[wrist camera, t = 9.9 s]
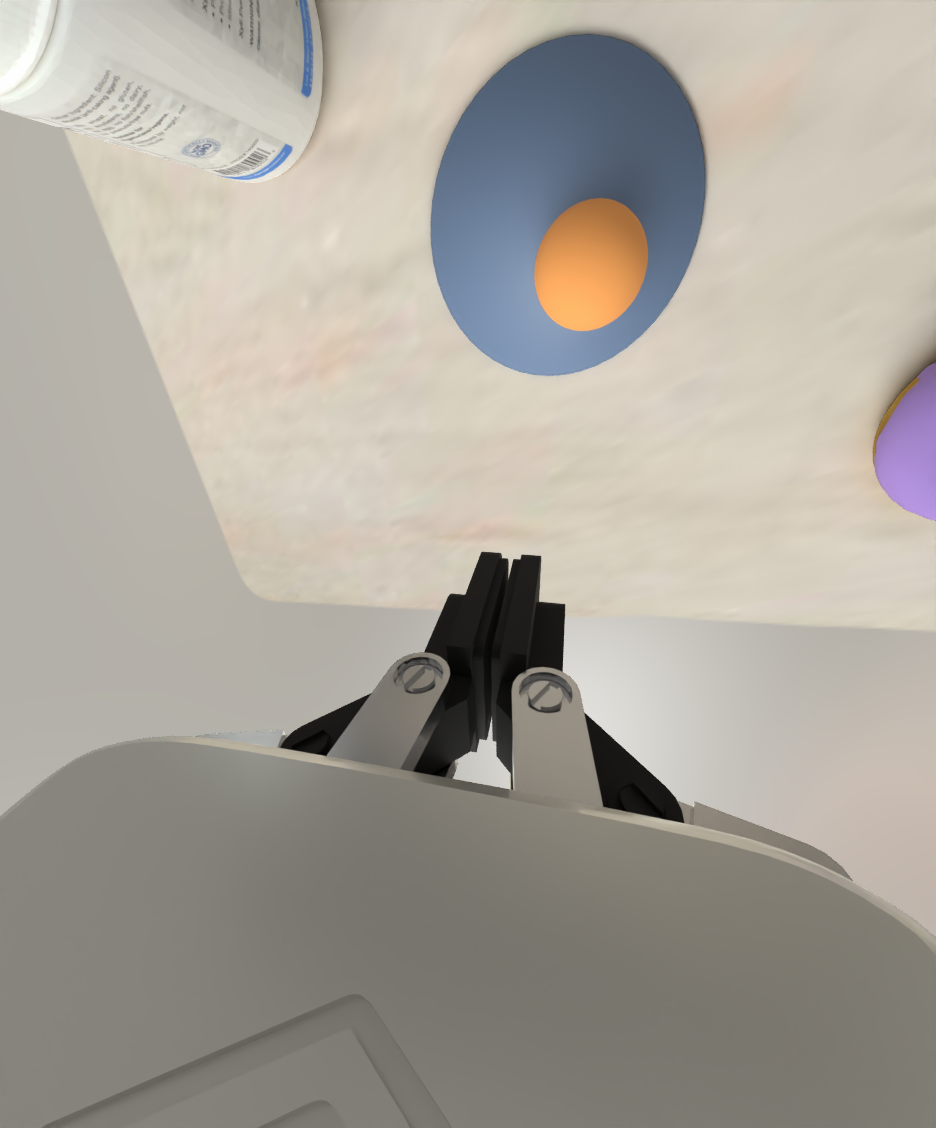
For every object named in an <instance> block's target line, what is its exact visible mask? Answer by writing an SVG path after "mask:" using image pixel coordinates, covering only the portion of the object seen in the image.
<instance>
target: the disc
mask: <svg viewBox="0 0 936 1128" xmlns="http://www.w3.org/2000/svg"><path fill="white" fill-rule="evenodd" d="M596 198H605V199H611V200H615V201H617V202H619V203H621V204H623V205H625V206H626V207H628V208H629V209H630V210H631V211H632V212H633V213H634V214H635V215H636V217H637V218H638V220H639V221H640V223H641V225H642V227H643V229H644V232H645V235H646V239H647V245H648V263H647V270H646V274H645V277H644V281H643V283H642V286H641V288H640V290H639V292H638V294H637V296H636V298H635V299H634V301H633V302H632V303H631V305H630V306H629V307H628V308H627V310H626V311H625V312H624V313H623V314H622V315H620V316H619V317H618V318H617V319H615V320H614V321H613V322H611V323H609V324H608V325H605V326H603V327H601V328H598V329H594V330H589V331H575V330H571V329H567V328H565V327H563V326H561V325H559V324H557V323H556V322H554V321H553V320H552V319H551V318H550V317H549V316H548V315H547V313H546V312H545V310H544V309H543V307H542V305H541V304H540V301H539V299H538V296H537V293H536V288H535V281H534V271H535V261H536V257H537V253H538V249H539V246H540V244H541V242H542V240H543V237H544V235H545V234H546V232H547V231H548V229H549V228H550V226H551V225H552V224H553V222H554V221H555V220H556V219H557V218H558V217H559V216H560V215H561V214H562V213H563V212H565V211H566V210H567V209H568V208H570V207H572V206H574V205H576V204H577V203H579V202H582V201H585V200H589V199H596ZM704 198H705V168H704V157H703V149H702V144H701V140H700V135H699V131H698V127H697V124H696V121H695V119H694V116H693V113H692V111H691V108H690V105H689V104H688V102H687V100H686V98H685V96H684V95H683V93H682V91H681V89H680V87H679V86H678V84H677V83H676V82H675V81H674V79H673V78H672V77H671V76H670V74H669V73H668V72H667V71H666V69H665V68H664V67H663V66H662V65H660V64H659V63H658V62H657V61H656V60H655V59H653V58H652V57H651V56H650V55H649V54H647V53H646V52H644V51H642V50H641V49H639V48H637V47H635V46H634V45H632V44H630V43H627V42H624V41H621V40H618V39H615V38H612V37H608V36H600V35H592V34H586V35H572V36H566V37H562V38H558V39H554V40H550V41H547V42H545V43H543V44H540V45H538V46H536V47H534V48H532V49H529V50H527V51H526V52H524V53H523V54H521V55H520V56H518V57H517V58H515V59H514V60H512V61H511V62H509V63H508V64H507V65H505V66H504V67H503V68H502V69H501V70H500V71H499V72H497V73H496V74H495V75H494V76H493V77H492V78H491V79H490V80H489V81H488V82H487V83H486V84H485V86H484V87H483V88H482V89H481V90H480V91H479V92H478V94H477V95H476V96H475V97H474V99H473V100H472V102H471V103H470V105H469V106H468V108H467V109H466V111H465V112H464V113H463V115H462V117H461V119H460V120H459V122H458V124H457V126H456V128H455V130H454V132H453V134H452V136H451V138H450V140H449V143H448V145H447V148H446V150H445V153H444V155H443V158H442V161H441V165H440V168H439V172H438V175H437V179H436V184H435V190H434V195H433V201H432V213H431V246H432V254H433V263H434V267H435V271H436V276H437V280H438V283H439V286H440V289H441V292H442V295H443V298H444V300H445V302H446V304H447V306H448V309H449V311H450V313H451V315H452V316H453V318H454V319H455V321H456V323H457V324H458V326H459V327H460V329H461V330H462V331H463V332H464V334H465V335H466V336H467V337H468V339H469V340H470V341H471V342H472V343H473V344H474V345H475V346H476V347H477V348H478V349H480V350H481V351H482V352H483V353H485V354H486V355H487V356H489V357H490V358H491V359H493V360H494V361H496V362H498V363H500V364H502V365H504V366H506V367H508V368H511V369H514V370H517V371H519V372H523V373H528V374H533V375H546V376H553V375H565V374H570V373H575V372H579V371H583V370H585V369H588V368H591V367H594V366H596V365H598V364H600V363H602V362H604V361H606V360H608V359H610V358H612V357H613V356H615V355H616V354H618V353H619V352H621V351H622V350H624V349H625V348H627V347H628V346H629V345H630V344H632V343H633V342H634V341H635V340H636V339H637V338H639V337H640V336H641V335H642V334H643V333H644V332H645V331H646V330H647V329H648V328H649V327H650V325H651V324H652V323H653V322H654V321H655V320H656V319H657V317H658V316H659V315H660V313H661V312H662V311H663V309H664V308H665V307H666V306H667V304H668V302H669V301H670V299H671V298H672V296H673V294H674V293H675V291H676V289H677V288H678V286H679V284H680V282H681V280H682V278H683V276H684V274H685V271H686V269H687V267H688V265H689V262H690V259H691V256H692V254H693V251H694V248H695V245H696V242H697V237H698V233H699V229H700V225H701V221H702V213H703V206H704Z"/></svg>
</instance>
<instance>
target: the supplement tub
mask: <svg viewBox="0 0 936 1128" xmlns="http://www.w3.org/2000/svg"><path fill="white" fill-rule="evenodd" d="M322 83H323V51H322V38H321V31H320V25H319V19H318V14H317V9H316V5H315V1H314V0H0V110H3V111H6V112H9V113H12V114H15V115H19V116H22V117H25V118H29V119H33V120H36V121H39V122H42V123H46V124H49V125H52V126H56V127H59V128H62V129H66V130H69V131H72V132H76V133H79V134H82V135H85V136H89V137H92V138H95V139H99V140H102V141H105V142H108V143H112V144H115V145H118V146H122V147H125V148H129V149H132V150H135V151H139V152H142V153H145V154H148V155H152V156H155V157H159V158H162V159H166V160H169V161H172V162H175V163H179V164H182V165H185V166H189V167H192V168H195V169H199V170H202V171H205V172H209V173H212V174H215V175H219V176H222V177H226V178H229V179H232V180H236V181H241V182H247V183H258V182H264V181H267V180H270V179H273V178H275V177H277V176H279V175H281V174H282V173H284V172H285V171H287V170H288V169H289V168H290V167H291V166H292V165H293V164H294V163H295V162H296V161H297V160H298V159H299V157H300V156H301V155H302V153H303V152H304V150H305V148H306V146H307V145H308V143H309V141H310V139H311V136H312V134H313V131H314V128H315V125H316V122H317V118H318V115H319V110H320V103H321V96H322Z"/></svg>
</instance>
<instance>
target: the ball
mask: <svg viewBox="0 0 936 1128" xmlns="http://www.w3.org/2000/svg"><path fill="white" fill-rule="evenodd" d="M647 263H648V245H647V239H646V235H645V232H644V229H643V227H642V225H641V223H640V221H639V220H638V218H637V217H636V215H635V214H634V213H633V212H632V211H631V210H630V209H629V208H628V207H626V206H625V205H623V204H621V203H619V202H617V201H615V200H611V199H605V198H596V199H589V200H585V201H582V202H579V203H577V204H576V205H574V206H572V207H570V208H568V209H567V210H566V211H565V212H563V213H562V214H561V215H560V216H559V217H558V218H557V219H556V220H555V221H554V222H553V224H552V225H551V226H550V228H549V229H548V231H547V232H546V234H545V235H544V237H543V240H542V242H541V244H540V246H539V249H538V253H537V257H536V261H535V271H534V281H535V288H536V293H537V296H538V299H539V301H540V304H541V305H542V307H543V309H544V310H545V312H546V313H547V315H548V316H549V317H550V318H551V319H552V320H553V321H554V322H556V323H557V324H559V325H561V326H563V327H565V328H567V329H571V330H575V331H589V330H594V329H598V328H601V327H603V326H605V325H608V324H609V323H611V322H613V321H614V320H615V319H617V318H618V317H619V316H620V315H622V314H623V313H624V312H625V311H626V310H627V308H628V307H629V306H630V305H631V303H632V302H633V301H634V299H635V298H636V296H637V294H638V292H639V290H640V288H641V286H642V283H643V281H644V277H645V274H646V270H647Z"/></svg>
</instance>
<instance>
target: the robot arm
mask: <svg viewBox="0 0 936 1128" xmlns="http://www.w3.org/2000/svg"><path fill="white" fill-rule="evenodd" d="M540 572H541V556H534V555H521V559H520V560H519V559H514V560H513V564H512V568H511V572H510V576H509V580H508V559H505V558H502V555H501V553H492V552H481V555H480V557H479V560H478V563H477V565H476V568H475V570H474V573H473V576H472V578H471V581H470V584H469V586H468V589H467V592H466V594H465V595H461V594H450V595H449V596H448V598H447V601H446V603H445V605H444V608H443V610H442V612H441V615H440V617H439V619H438V621H437V624H436V626H435V628H434V631H433V633H432V636H431V638H430V640H429V642H428V645H427V647H426V649H425V652H420V653H413V654H410V655H407V656H404V657H402V658H401V659H399V660H397V661H396V662H395V663H394V664H393V665H392V666H391V667H390V669H389V670H388V672H387V673H386V674H385V676H384V677H383V678H382V680H381V681H380V682H379V684H378V685H377V687H376V688H375V689H374V691H373V692H372V693H371V694H369V695H367V696H364V697H362V698H360V699H358V700H356V701H354V702H352V703H350V704H348V705H345V706H343V707H341V708H339V709H337V710H335V711H333V712H331V713H328V714H326V715H325V716H322V717H320V718H318V719H316V720H314V721H312V722H309V723H307V724H305V725H303V726H301V727H300V728H298V729H297V730H295V731H293V732H292V733H291V734H290V735H286V734H285V732H284V730H276V731H257V732H238V733H218V734H205V735H199V736H195V737H192V736H166V737H152V738H143V739H137V740H133V741H126V742H121V743H117V744H113V745H109V746H106V747H103V748H100V749H97V750H94V751H91V752H89V753H87V754H84V755H82V756H80V757H78V758H76V759H75V760H73V761H71V762H70V763H68V764H67V765H65V766H63V767H62V768H60V769H59V770H57V771H56V772H55V773H53V774H52V775H50V776H49V777H48V778H46V779H45V780H44V781H43V782H41V783H40V784H39V785H37V786H36V787H35V788H34V789H33V790H31V791H30V792H29V793H28V794H26V795H25V796H24V797H23V798H21V799H20V800H19V801H18V802H17V803H15V804H14V805H13V806H12V807H10V808H9V809H8V810H7V811H6V812H5V813H4V814H2V815H1V816H0V1128H936V937H935V936H934V935H933V934H931V933H930V932H929V931H928V930H927V929H925V928H924V927H923V926H922V925H921V924H919V923H918V922H917V921H916V920H914V919H913V918H912V917H910V916H909V915H907V914H906V913H904V912H903V911H901V910H900V909H898V908H897V907H896V906H894V905H893V904H891V903H889V902H888V901H886V900H885V899H883V898H881V897H880V896H878V895H876V894H875V893H873V892H872V891H870V890H868V889H866V888H865V887H863V886H861V885H859V884H857V883H855V882H854V881H853V880H852V879H851V878H850V876H849V875H848V874H847V872H846V871H845V870H844V869H843V867H841V866H840V865H839V864H838V863H837V862H836V861H834V860H833V859H832V858H831V857H830V856H828V855H827V854H826V853H824V852H822V851H820V850H818V849H816V848H815V847H813V846H811V845H808V844H806V843H803V842H801V841H798V840H796V839H793V838H790V837H788V836H785V835H782V834H779V833H777V832H774V831H772V830H769V829H766V828H764V827H761V826H759V825H756V824H753V823H751V822H748V821H745V820H743V819H740V818H737V817H735V816H732V815H729V814H726V813H724V812H721V811H719V810H716V809H713V808H711V807H708V806H706V805H703V804H700V803H697V802H694V804H693V806H690V805H687V804H685V803H682V802H680V801H677V800H676V798H675V797H674V796H673V794H672V793H671V792H670V791H669V790H668V789H667V788H666V786H665V785H663V784H662V783H661V782H660V781H659V780H658V779H657V778H656V777H655V776H653V775H652V774H651V773H650V772H649V771H648V770H647V769H646V768H645V767H644V766H643V765H641V764H640V763H639V762H638V761H637V760H636V759H635V758H634V757H633V756H632V755H630V754H629V753H628V752H627V751H626V750H625V749H624V748H623V747H622V746H621V745H619V744H618V743H617V742H616V741H615V740H614V739H613V738H612V737H611V736H610V735H608V734H607V733H606V732H605V731H604V730H603V729H602V728H601V727H600V726H599V725H597V724H596V723H595V722H594V721H593V720H592V719H591V718H589V716H587V715H586V714H585V713H584V709H583V704H582V699H581V695H580V691H579V688H578V686H577V684H576V683H575V682H574V680H572V678H571V677H570V676H568V675H566V674H565V673H563V672H562V671H563V669H562V668H563V647H564V621H565V604H557V603H547V602H539V590H540ZM491 717H492V727H493V729H492V730H493V741H496V743H497V745H496V746H497V757H498V758H499V759H500V761H501V762H502V763H503V765H504V766H505V767H506V768H507V770H508V771H509V772H510V789H504V788H499V787H493V786H488V785H483V784H477V783H472V782H466V781H461V780H455V779H453V776H454V774H455V772H456V768H457V764H458V758H460V757H462V756H463V755H465V754H466V753H468V752H470V751H472V752H477V747H478V743H479V739H483V740H486V739H487V737H488V732H489V727H490V722H491Z"/></svg>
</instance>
